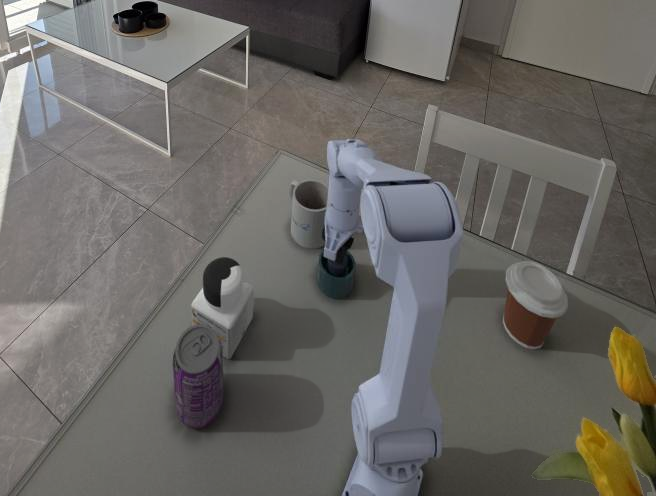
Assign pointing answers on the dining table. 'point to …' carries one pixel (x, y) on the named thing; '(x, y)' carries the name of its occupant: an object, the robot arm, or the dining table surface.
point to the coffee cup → (532, 303)
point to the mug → (308, 212)
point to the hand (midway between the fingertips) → (337, 255)
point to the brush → (337, 268)
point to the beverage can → (198, 376)
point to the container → (224, 303)
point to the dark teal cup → (336, 278)
